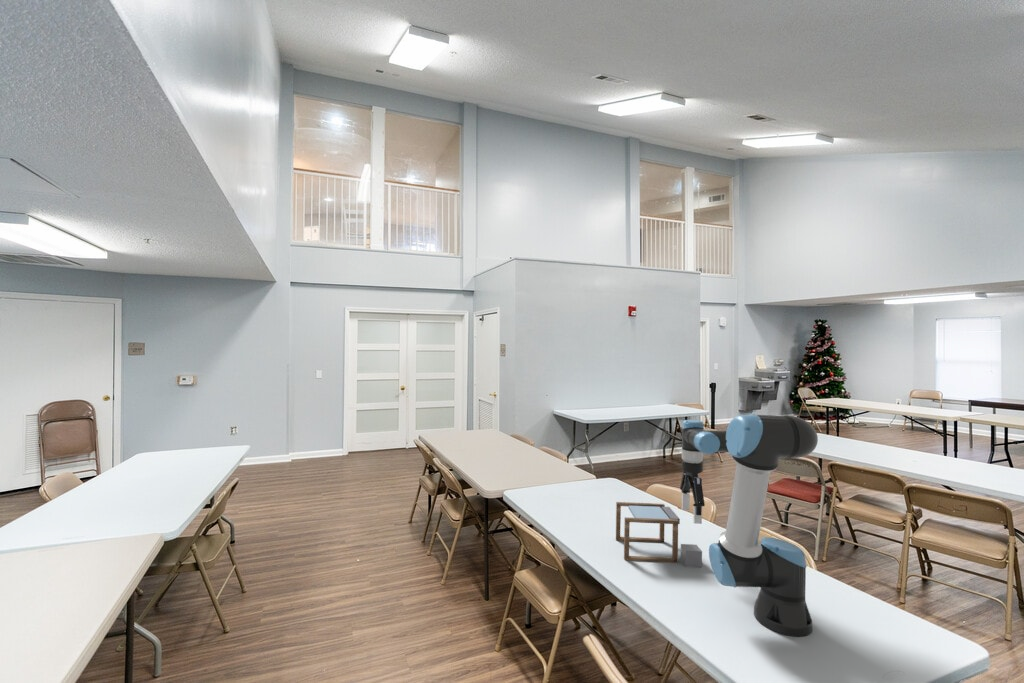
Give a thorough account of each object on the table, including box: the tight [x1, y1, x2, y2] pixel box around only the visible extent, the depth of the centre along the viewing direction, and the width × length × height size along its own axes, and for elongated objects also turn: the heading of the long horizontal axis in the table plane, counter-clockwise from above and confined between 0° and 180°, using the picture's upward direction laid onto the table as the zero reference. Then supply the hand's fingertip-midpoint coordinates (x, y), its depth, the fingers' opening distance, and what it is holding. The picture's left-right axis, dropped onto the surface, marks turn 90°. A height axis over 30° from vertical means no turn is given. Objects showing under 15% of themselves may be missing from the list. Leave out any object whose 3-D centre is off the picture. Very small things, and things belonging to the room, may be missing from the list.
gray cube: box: [680, 543, 703, 568], centre depth 174 cm, size 6×6×6 cm
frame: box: [615, 501, 679, 563], centre depth 185 cm, size 20×20×16 cm
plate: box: [628, 505, 681, 525], centre depth 185 cm, size 16×17×2 cm
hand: (691, 516), depth 174 cm, fingers open, 13 cm apart
